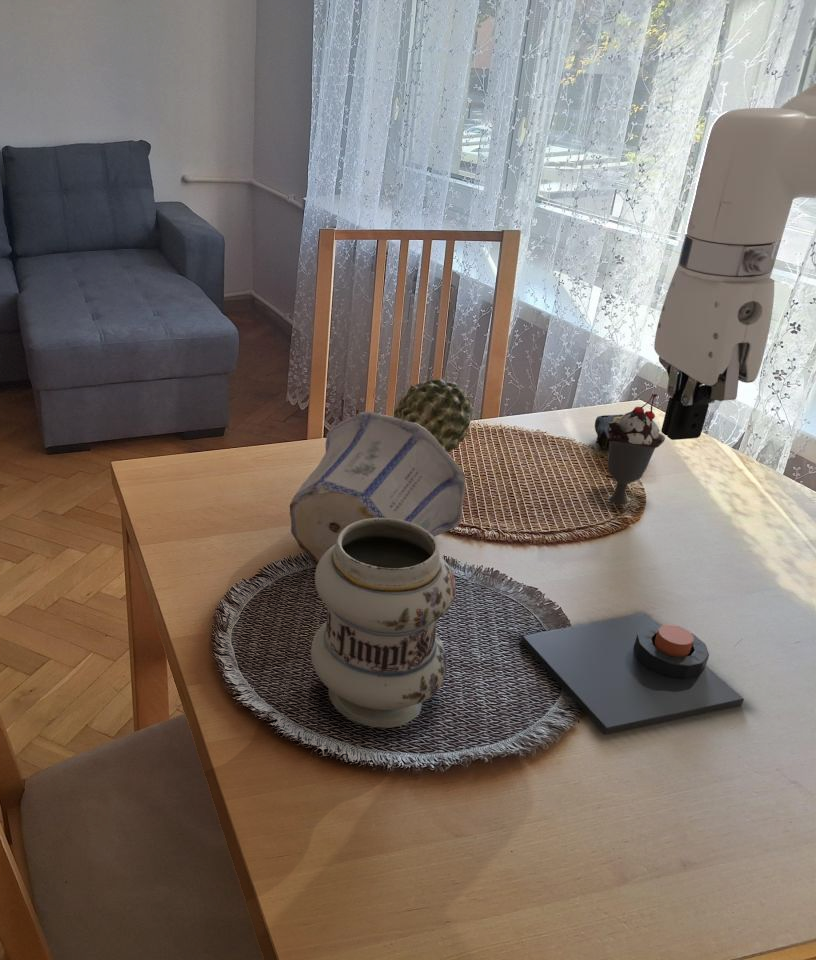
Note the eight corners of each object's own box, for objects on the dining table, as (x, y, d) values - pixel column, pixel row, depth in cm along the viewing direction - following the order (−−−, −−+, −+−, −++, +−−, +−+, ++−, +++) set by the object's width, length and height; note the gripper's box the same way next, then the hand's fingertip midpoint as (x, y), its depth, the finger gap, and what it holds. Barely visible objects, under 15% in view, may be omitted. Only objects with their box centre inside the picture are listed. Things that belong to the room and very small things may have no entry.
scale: (645, 623, 89) (652, 599, 87) (743, 711, 78) (754, 684, 76) (519, 647, 86) (524, 622, 85) (602, 741, 75) (610, 714, 74)
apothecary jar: (325, 648, 87) (335, 495, 79) (447, 676, 83) (472, 518, 74) (293, 730, 78) (300, 567, 69) (429, 767, 74) (455, 597, 65)
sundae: (648, 499, 111) (676, 391, 103) (642, 523, 106) (672, 412, 98) (592, 487, 114) (616, 382, 106) (585, 511, 109) (609, 402, 101)
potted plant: (415, 507, 83) (524, 347, 100) (259, 466, 93) (381, 327, 110) (422, 627, 94) (520, 464, 110) (282, 578, 104) (390, 436, 121)
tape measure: (591, 432, 128) (596, 409, 126) (643, 438, 125) (648, 415, 124) (593, 453, 122) (598, 429, 120) (647, 459, 120) (653, 435, 118)
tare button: (674, 634, 83) (678, 622, 82) (697, 654, 81) (701, 641, 80) (647, 640, 83) (650, 627, 82) (669, 660, 80) (673, 647, 79)
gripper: (826, 275, 72) (765, 467, 81) (715, 234, 85) (673, 403, 94) (740, 281, 72) (688, 473, 81) (642, 239, 85) (606, 408, 94)
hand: (680, 435), depth 87 cm, fingers closed
